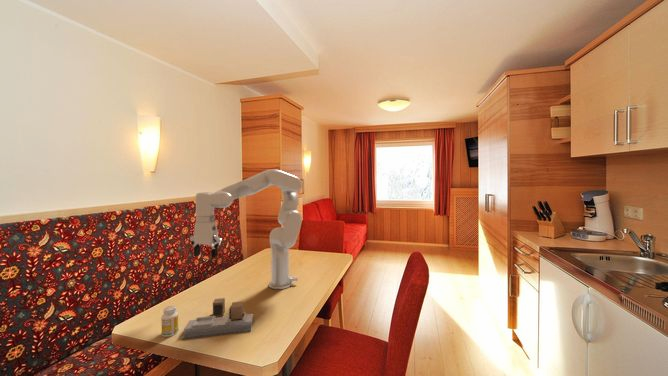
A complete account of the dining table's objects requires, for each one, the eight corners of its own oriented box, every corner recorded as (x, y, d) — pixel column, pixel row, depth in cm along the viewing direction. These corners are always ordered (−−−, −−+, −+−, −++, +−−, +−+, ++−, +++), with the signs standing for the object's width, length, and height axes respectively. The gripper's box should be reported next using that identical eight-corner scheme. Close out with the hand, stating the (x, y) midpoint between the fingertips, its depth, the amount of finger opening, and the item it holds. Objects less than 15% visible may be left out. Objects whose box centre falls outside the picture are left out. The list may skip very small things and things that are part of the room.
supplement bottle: (164, 339, 95) (163, 313, 94) (159, 333, 98) (159, 308, 98) (180, 332, 99) (180, 307, 99) (175, 327, 102) (174, 303, 102)
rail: (253, 317, 109) (253, 297, 109) (250, 331, 99) (250, 308, 99) (191, 324, 104) (190, 303, 104) (182, 339, 94) (181, 315, 94)
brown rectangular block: (215, 312, 114) (215, 298, 114) (225, 311, 115) (224, 297, 114) (212, 317, 109) (212, 303, 109) (222, 316, 110) (222, 302, 110)
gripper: (226, 218, 120) (227, 255, 121) (196, 217, 125) (197, 252, 126) (214, 221, 113) (215, 260, 113) (183, 219, 118) (184, 256, 118)
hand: (205, 256), depth 120 cm, fingers open, 9 cm apart
